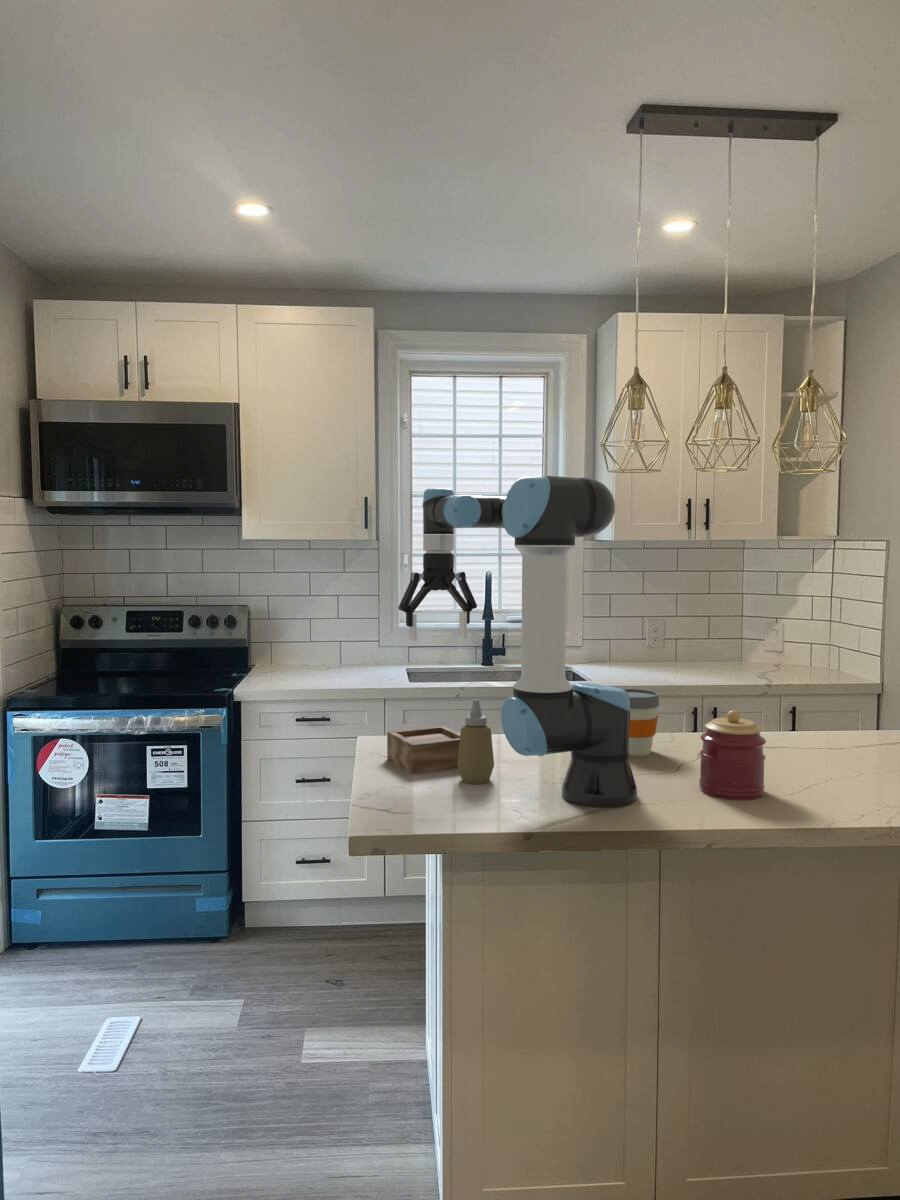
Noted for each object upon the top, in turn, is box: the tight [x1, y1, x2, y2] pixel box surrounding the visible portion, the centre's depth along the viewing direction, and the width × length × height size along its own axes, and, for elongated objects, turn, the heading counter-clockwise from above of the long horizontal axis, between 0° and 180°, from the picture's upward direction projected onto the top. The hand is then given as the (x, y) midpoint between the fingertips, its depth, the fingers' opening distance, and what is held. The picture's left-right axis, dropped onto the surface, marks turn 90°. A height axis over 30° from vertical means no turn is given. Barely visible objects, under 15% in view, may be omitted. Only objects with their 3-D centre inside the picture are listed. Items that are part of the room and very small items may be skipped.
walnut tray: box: [386, 725, 461, 775], centre depth 205 cm, size 15×15×7 cm
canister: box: [698, 709, 767, 801], centre depth 181 cm, size 13×13×18 cm
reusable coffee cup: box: [622, 688, 660, 757], centre depth 216 cm, size 13×13×15 cm
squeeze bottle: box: [457, 699, 495, 785], centre depth 190 cm, size 8×8×18 cm
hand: (438, 638), depth 215 cm, fingers open, 13 cm apart
